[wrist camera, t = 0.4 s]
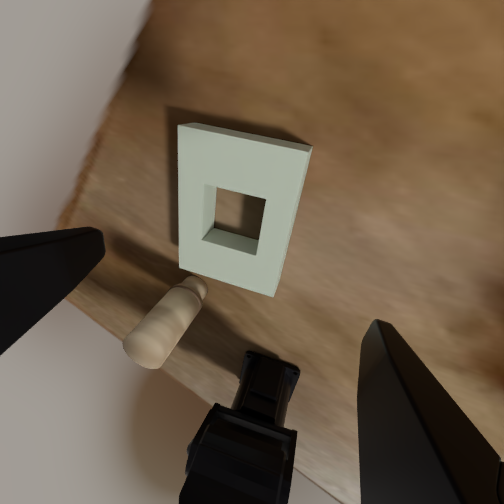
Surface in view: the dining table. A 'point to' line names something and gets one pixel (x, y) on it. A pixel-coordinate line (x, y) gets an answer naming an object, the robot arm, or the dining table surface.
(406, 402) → the robot arm
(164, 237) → the dining table surface
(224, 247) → the board
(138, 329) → the peg
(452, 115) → the dining table surface
